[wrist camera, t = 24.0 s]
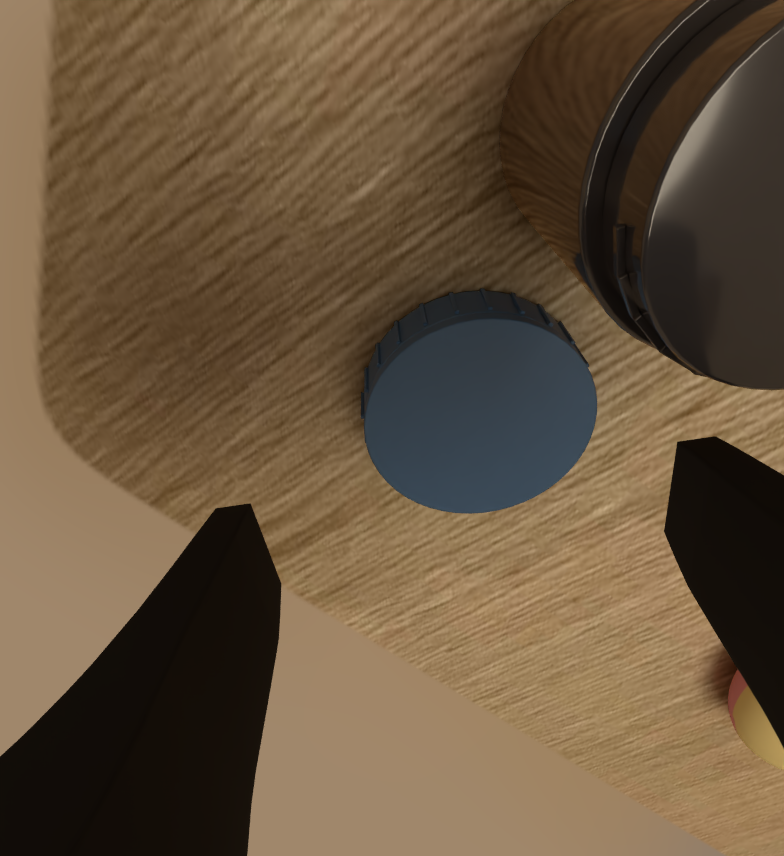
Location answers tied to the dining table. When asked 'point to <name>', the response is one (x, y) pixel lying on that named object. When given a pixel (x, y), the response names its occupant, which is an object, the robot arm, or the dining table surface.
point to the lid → (477, 402)
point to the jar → (662, 172)
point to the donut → (753, 723)
